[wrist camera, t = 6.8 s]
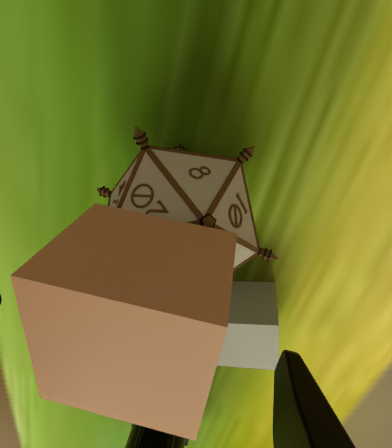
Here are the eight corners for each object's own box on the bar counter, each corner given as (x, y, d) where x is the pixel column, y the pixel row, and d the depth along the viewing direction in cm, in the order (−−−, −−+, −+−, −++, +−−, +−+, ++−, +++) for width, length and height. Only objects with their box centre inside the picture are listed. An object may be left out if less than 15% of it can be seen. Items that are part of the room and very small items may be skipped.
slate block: (274, 322, 22) (278, 370, 18) (222, 320, 23) (216, 365, 19) (274, 280, 20) (278, 325, 17) (217, 280, 21) (210, 322, 17)
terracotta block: (212, 333, 12) (195, 441, 9) (99, 306, 12) (40, 397, 9) (237, 233, 9) (227, 327, 6) (95, 203, 10) (10, 275, 6)
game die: (177, 176, 21) (30, 196, 15) (259, 94, 15) (66, 66, 9) (229, 287, 20) (91, 364, 13) (342, 247, 14) (188, 356, 7)
